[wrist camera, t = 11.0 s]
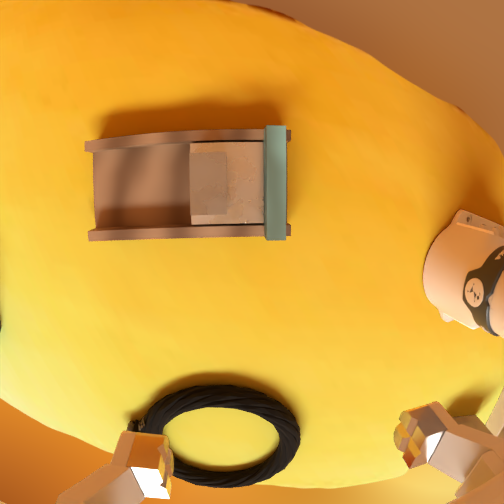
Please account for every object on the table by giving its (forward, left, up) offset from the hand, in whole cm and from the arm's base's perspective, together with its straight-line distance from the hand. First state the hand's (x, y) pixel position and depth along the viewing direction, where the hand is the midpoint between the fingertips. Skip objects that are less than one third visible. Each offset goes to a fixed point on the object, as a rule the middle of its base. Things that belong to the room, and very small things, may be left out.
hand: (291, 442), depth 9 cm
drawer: (+7, -8, -31) cm, 33 cm away
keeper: (+2, -8, -29) cm, 31 cm away
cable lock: (+6, +34, -32) cm, 47 cm away
